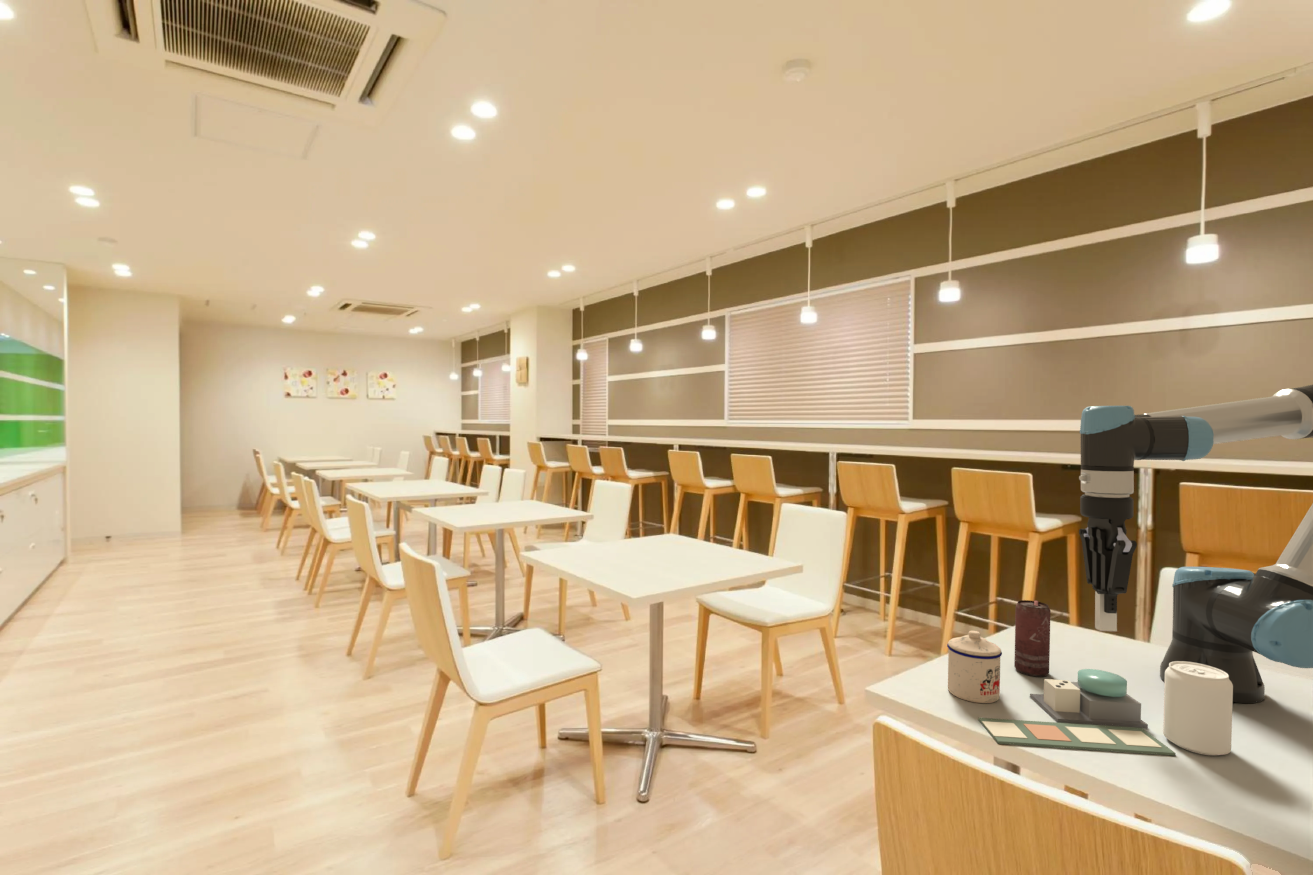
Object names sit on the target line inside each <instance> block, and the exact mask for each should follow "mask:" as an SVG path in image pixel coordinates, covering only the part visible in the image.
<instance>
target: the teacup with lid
mask: <svg viewBox="0 0 1313 875" xmlns="http://www.w3.org/2000/svg"><path fill="white" fill-rule="evenodd" d="M946 647H947V648H948V651H947V652H948V657H947V660H948V661H947V663H948V664H947V689H948V691H949V692H950V694H951V695H953V696H954V697H956V698H959V699H961V700H963V701H967V702H970V703H977V704H992V703H995V702H997V701H999V700H1000V691H1001V690H1000V689H1001V688H1000V686H1001V685H1000V684H1001V657H1002V655H1003V652H1002V649H1001V647H999V645H997V644H996V643H994V642H991V641H988V640H987V639H986V638H984V637H982V636H981V633H980V632H979V630H978V631H977V630H969V631H968V633H967V634H965V635H962V636H959V637H953V638H951V639H949V640H948V642H947V646H946Z"/></svg>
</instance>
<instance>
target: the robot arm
mask: <svg viewBox="0 0 1313 875" xmlns="http://www.w3.org/2000/svg"><path fill="white" fill-rule="evenodd" d="M1079 434H1080V475H1079V476H1078V480H1079V481H1080V491H1081V492H1082V493H1084V494H1082V495H1081V496H1079V497H1080V498H1079V500H1080V504H1079V505H1080V506H1079V507H1080V508H1079V509H1080V510H1079V511H1080V515H1081V516H1083V517H1086V518H1088V520H1087V523H1086V525H1087V527H1086V528H1080V529H1079V530H1078V534H1079V536H1080V537H1079V538H1080V540H1081V545H1082V553H1083V561H1084V568H1085V576H1086V578H1085V579H1086V582H1087V584H1089V585H1092V586H1091V587H1092V589H1093V591H1095V592H1094V593H1095V594H1094V603H1095V604H1094V608H1095V609H1094V629H1096V630H1098V631H1100V632H1118V624H1117V623H1118V595H1120V594H1121V595H1122V594H1127V591H1128V587H1129V578H1130V573H1131V569H1132V568H1131V567H1132V562H1133V556H1134V553H1135V551H1136V549H1137V546H1138V543H1137V541H1136V540H1130V539H1129V538H1128V536H1127V527H1126V523H1125V522H1126V520H1131V519H1132V518H1133V517H1134V505H1135V504H1134V500H1135V499H1134V498H1133V497H1132V496H1130V495H1132V494H1134V493H1135V491H1134V490H1135V489H1134V488H1135V486H1134V485H1135V482H1134V479H1135V476H1134V475H1135V474H1134V473H1135V472H1134V470H1135V461H1180V462H1181V461H1182V462H1185V461H1188V460H1189V461H1190V460H1191V461H1192V460H1200V459H1203V458H1205V457H1207V456H1208V454H1209V453H1210V452H1211V450H1212V449H1213V446H1214V445H1217V444H1218V445H1219V444H1225V443H1234V442H1241V441H1249V440H1251V441H1252V440H1257V439H1258V440H1259V439H1265V438H1274V437H1283V438H1284V439H1287V440H1301V439H1310V438H1311V439H1313V384H1308V385H1304V386H1297V387H1292V388H1285V389H1281V390H1279V391H1277V392H1275V393H1274V394H1272V396H1267V397H1257V398H1251V399H1245V400H1243V399H1242V400H1235V401H1229V402H1228V401H1227V402H1221V403H1214V404H1205V405H1199V406H1191V407H1185V408H1184V407H1183V408H1176V409H1175V408H1174V409H1167V410H1161V411H1153V412H1147V413H1142V414H1135V410H1134V407H1133V406H1131V405H1093V406H1092V405H1091V406H1086V407H1085V408H1083V410H1082V412H1081V418H1080V429H1079ZM1173 575H1174V576H1173V583H1172V586H1171V587H1172V589H1173V590H1172V637H1171V641H1170V644H1169V646H1168V648H1167V650H1166V652H1165V655H1164V657H1163V659H1162V661H1161V663H1160V666H1159V678H1160V679H1161V680H1162V681H1163V682H1165V670H1166V669H1167V668H1168V667H1169V663H1170V662H1174V661H1186V662H1194V663H1199V664H1204V665H1208V666H1211V667H1215V668H1217V669H1220V670H1222V671H1224V672H1226V673H1227V674H1228V675H1229V680H1230V681H1231V682H1232V684H1233V702H1232V703H1240V704H1253V703H1255V704H1256V703H1261V702H1263V700H1265V695H1266V694H1265V692H1266V691H1265V684H1264V681H1263V679H1262V675H1261V673H1260V671H1259V667H1258V666H1257V665H1258V664H1257V663H1256V660H1255V658H1254V653H1257V654H1259V655H1261V656H1263V657H1264V658H1266V659H1268V660H1270V661H1272V662H1275V663H1281V664H1284V665H1288V666H1289V667H1290V666H1291V667H1294V668H1299V669H1313V503H1312V504H1311V506H1310V507H1309V509H1308V510H1307V511H1306V513H1305V515H1304V517H1303V519H1302V520H1301V521H1300V523H1299V524H1298V527H1297V528H1296V530H1295V531H1294V534H1293V535H1292V537H1291V538H1290V540H1289V541H1288V543H1287V545H1286V546H1285V548H1284V549H1283V551H1282V553H1281V554H1280V556H1278V559H1277V561H1276V562H1275V564H1272V565H1269V566H1264V567H1263V566H1262V567H1259V568H1258V569H1257V571H1256V572H1255V573H1254V572H1253V571H1251V570H1248V569H1240V568H1230V567H1215V566H1214V567H1211V566H1181V567H1179V568H1177V569H1176V570H1175V572H1174V574H1173ZM1253 652H1254V653H1253Z"/></svg>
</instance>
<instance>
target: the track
mask: <svg viewBox="0 0 1313 875" xmlns="http://www.w3.org/2000/svg"><path fill="white" fill-rule="evenodd" d="M977 720H978V721H979V723H980V724H981V725H982V727H984V729H985V730H986V731H987V732H988V733H989V735H990V736H991V737H992V738H993V739H994V741H995V742H996V743H997V744H999V745H1014V746H1030V747H1041V748H1044V747H1045V748H1059V749H1070V750H1071V749H1072V750H1088V751H1102V752H1117V753H1131V754H1132V753H1133V754H1147V755H1158V756H1159V755H1161V756H1172V757H1173V756H1175V757H1176V755H1177V754H1176V752H1175V751H1173V750H1172V749H1171V748H1170V747H1168V746H1166V745H1165V744H1164V743H1163V742H1162V741H1160V740H1159V739H1157V738H1156V737H1155V736H1154V735H1152V734H1151V733H1149V732H1148V731H1146V730H1145V728H1139V727H1123V726H1107V725H1092V724H1076V723H1060V722H1057V721H1055V722H1054V721H1039V720H1023V719H1010V718H1009V719H1007V718H1005V719H1004V718H992V717H991V718H990V717H978V719H977Z"/></svg>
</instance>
